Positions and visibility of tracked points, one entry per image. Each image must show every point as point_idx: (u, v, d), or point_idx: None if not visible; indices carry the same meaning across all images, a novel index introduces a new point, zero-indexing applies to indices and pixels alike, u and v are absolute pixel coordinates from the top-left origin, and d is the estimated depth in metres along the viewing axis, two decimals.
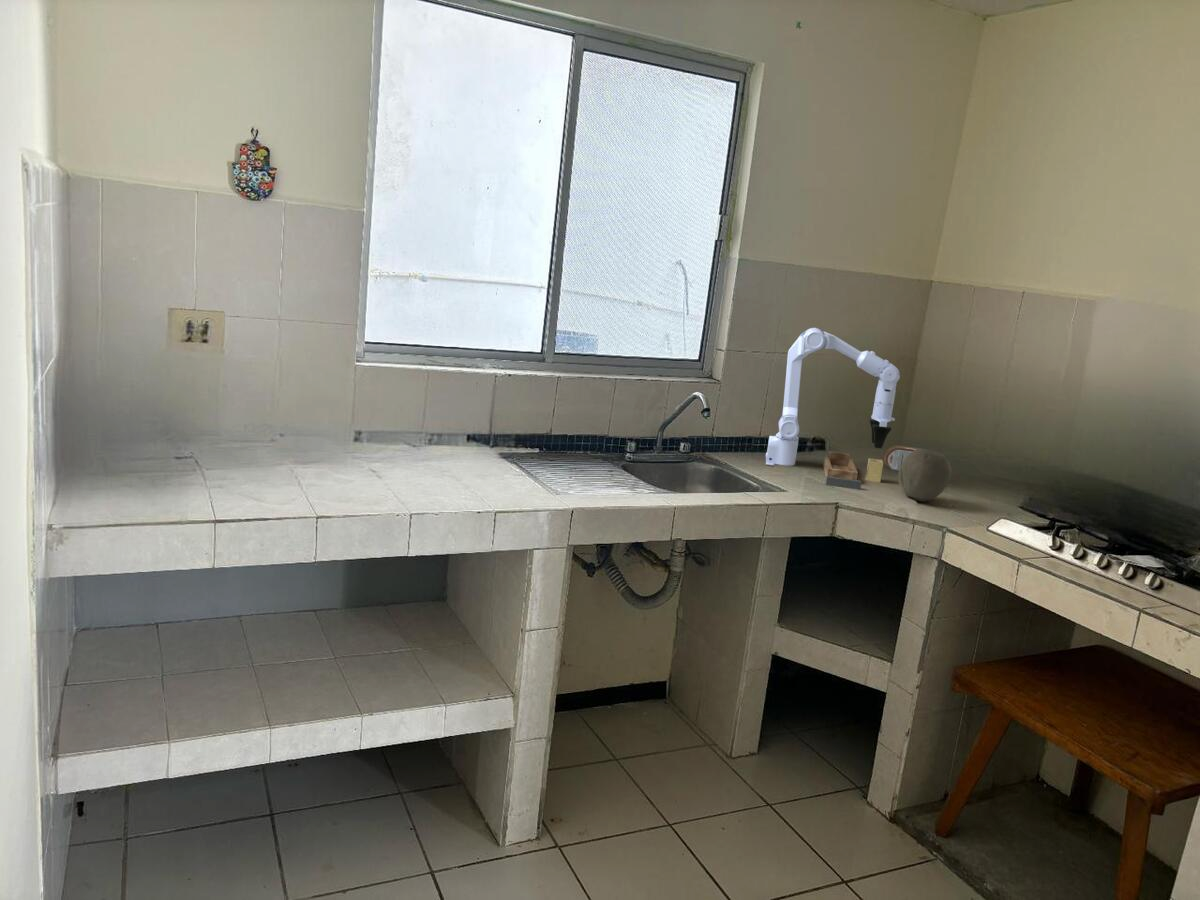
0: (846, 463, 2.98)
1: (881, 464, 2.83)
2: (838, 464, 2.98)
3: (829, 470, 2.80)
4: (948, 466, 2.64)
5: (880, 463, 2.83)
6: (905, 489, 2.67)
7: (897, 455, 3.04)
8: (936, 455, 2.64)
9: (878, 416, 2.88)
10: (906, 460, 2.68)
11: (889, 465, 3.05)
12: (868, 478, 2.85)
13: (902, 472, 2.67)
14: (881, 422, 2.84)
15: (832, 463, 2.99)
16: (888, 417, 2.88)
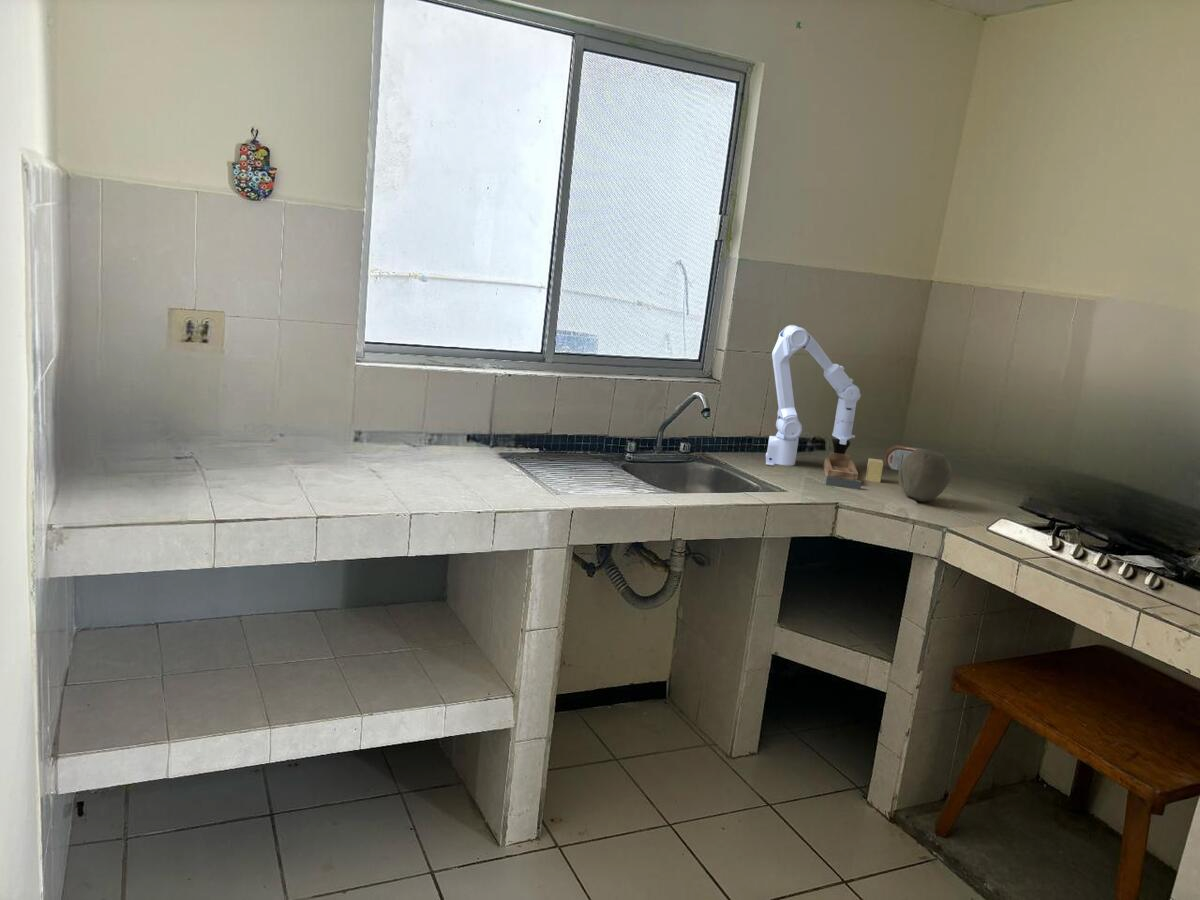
0: (846, 464, 2.96)
1: (881, 464, 2.83)
2: (838, 465, 2.97)
3: (829, 471, 2.79)
4: (948, 466, 2.64)
5: (880, 463, 2.83)
6: (905, 489, 2.67)
7: (897, 455, 3.04)
8: (936, 455, 2.64)
9: (838, 434, 2.95)
10: (906, 460, 2.68)
11: (889, 465, 3.05)
12: (868, 478, 2.85)
13: (903, 472, 2.67)
14: (841, 440, 2.91)
15: (832, 464, 2.97)
16: (848, 434, 2.95)
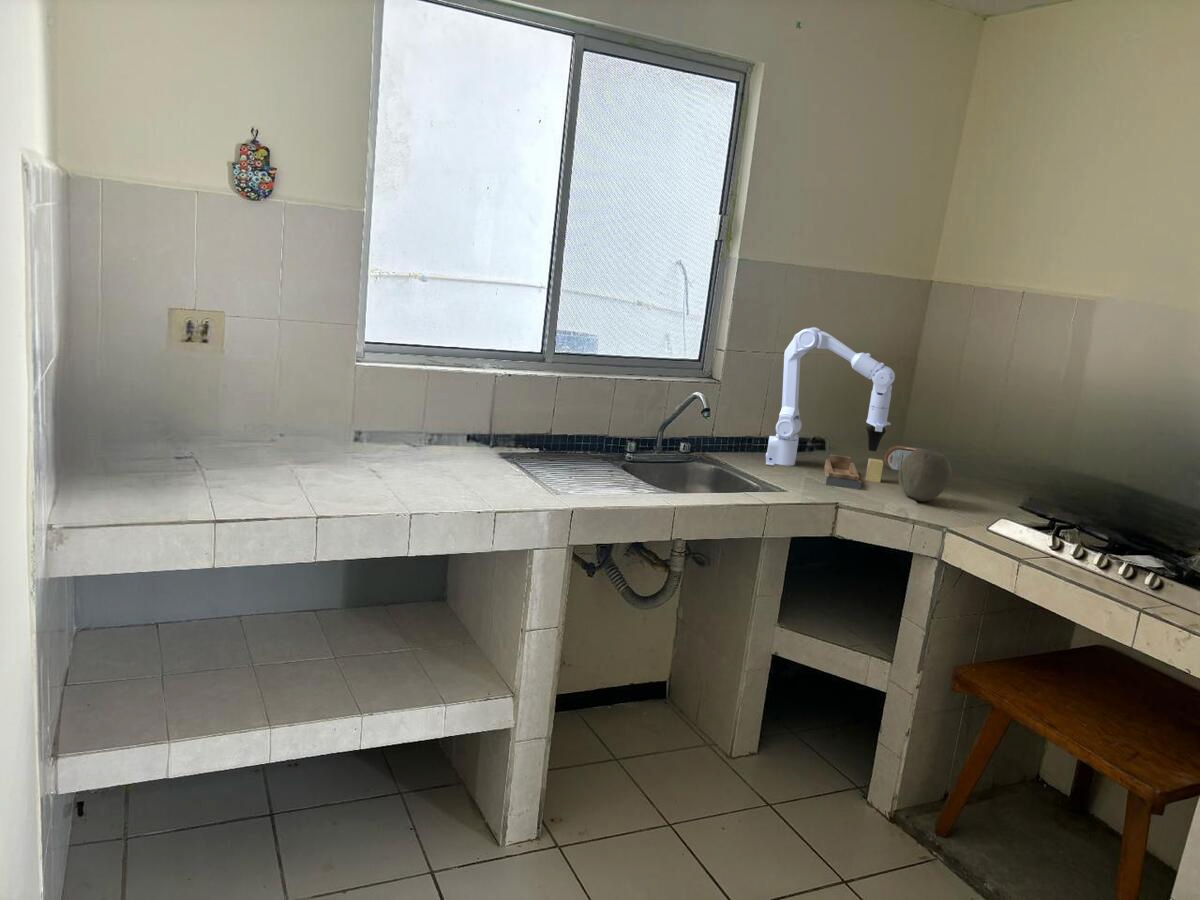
0: (847, 466, 2.93)
1: (881, 464, 2.83)
2: (839, 467, 2.94)
3: (830, 474, 2.76)
4: (948, 466, 2.64)
5: (880, 463, 2.83)
6: (905, 489, 2.67)
7: (897, 455, 3.04)
8: (936, 455, 2.64)
9: (873, 420, 2.82)
10: (906, 460, 2.68)
11: (889, 465, 3.05)
12: (868, 478, 2.85)
13: (903, 472, 2.67)
14: (876, 427, 2.77)
15: (833, 466, 2.94)
16: (883, 421, 2.82)
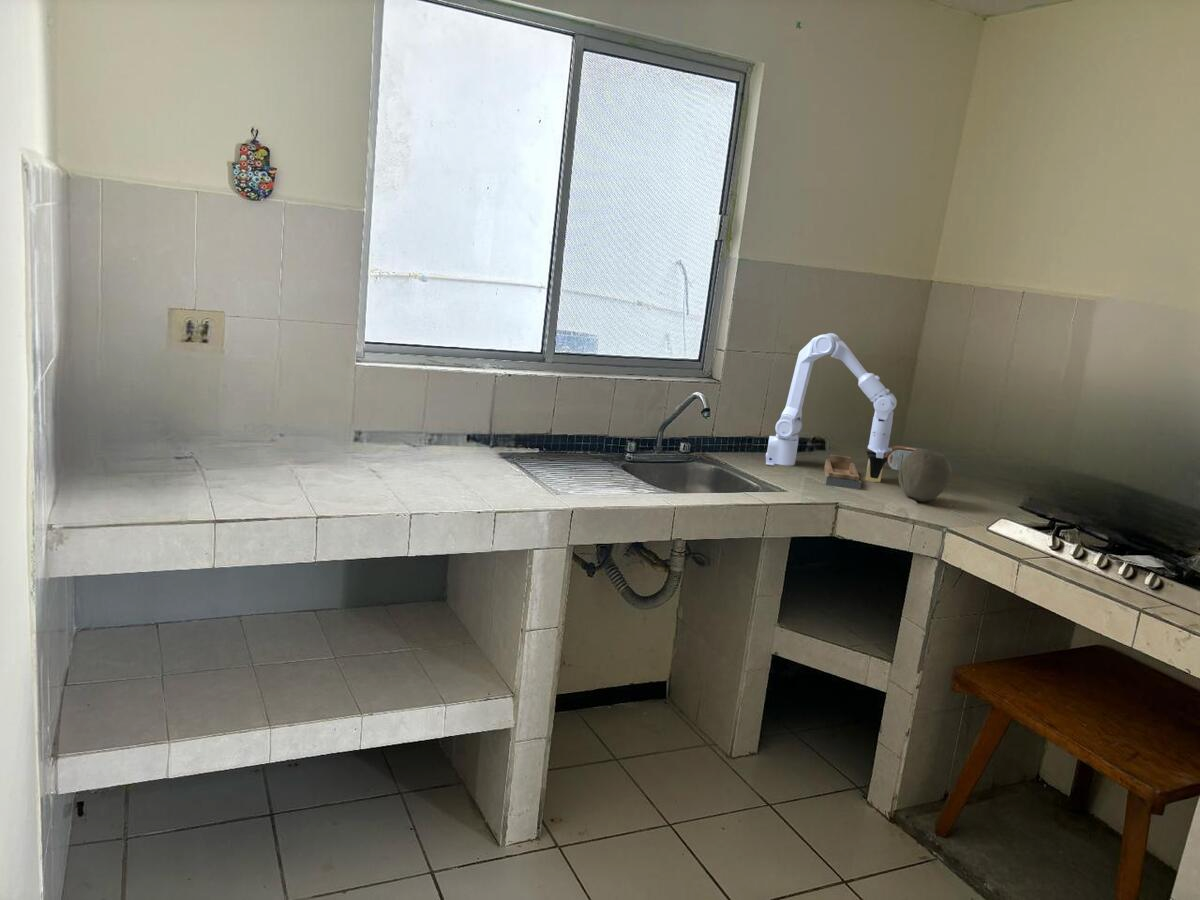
0: (847, 466, 2.93)
1: None
2: (839, 467, 2.94)
3: (830, 474, 2.76)
4: (948, 466, 2.64)
5: None
6: (905, 489, 2.67)
7: (897, 455, 3.04)
8: (936, 455, 2.64)
9: (875, 447, 2.82)
10: (906, 460, 2.68)
11: (889, 465, 3.05)
12: (868, 478, 2.85)
13: (903, 472, 2.67)
14: (878, 453, 2.78)
15: (833, 466, 2.94)
16: (885, 448, 2.82)
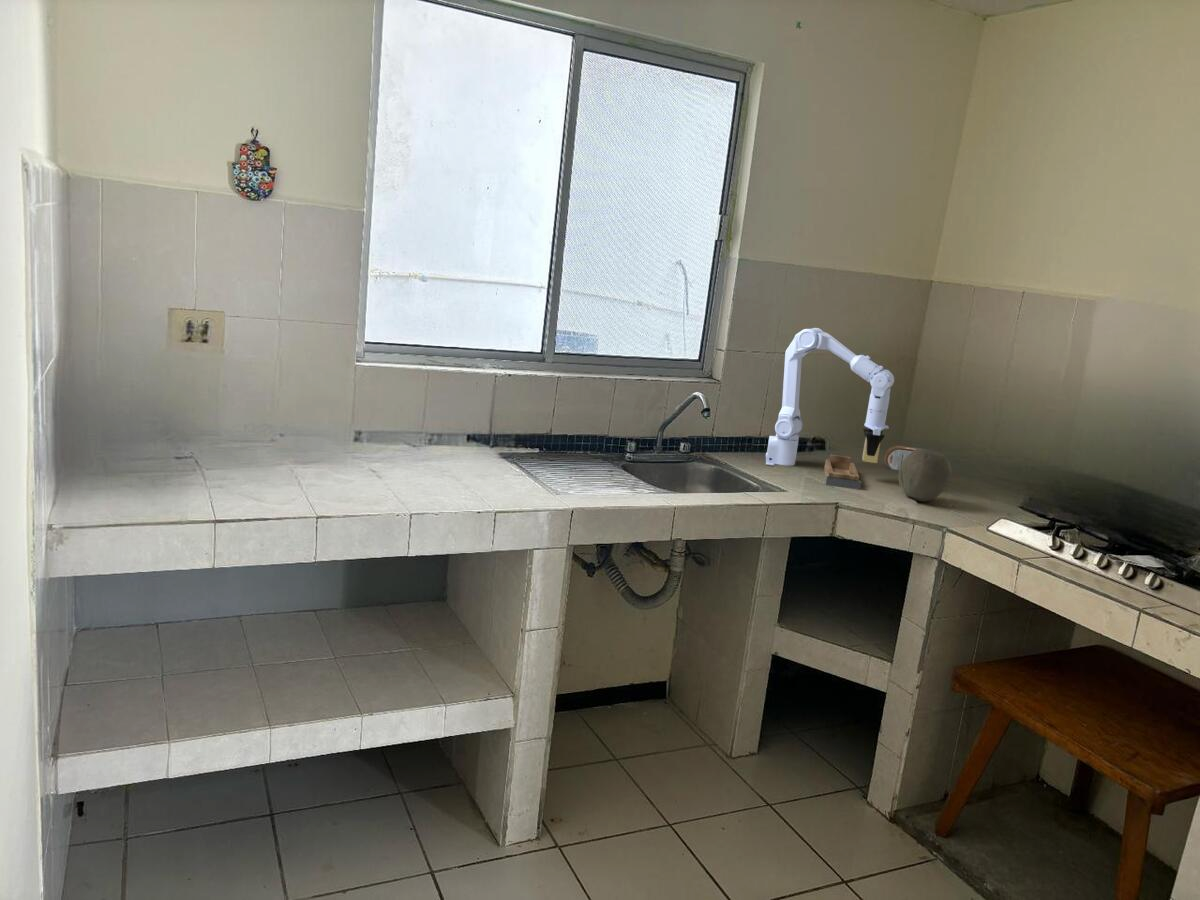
0: (847, 466, 2.93)
1: None
2: (839, 467, 2.94)
3: (830, 474, 2.76)
4: (948, 466, 2.64)
5: None
6: (905, 489, 2.67)
7: (897, 455, 3.04)
8: (936, 455, 2.64)
9: (871, 424, 2.80)
10: (906, 460, 2.68)
11: (889, 465, 3.05)
12: (865, 456, 2.83)
13: (902, 472, 2.67)
14: (874, 430, 2.76)
15: (833, 466, 2.94)
16: (882, 425, 2.80)
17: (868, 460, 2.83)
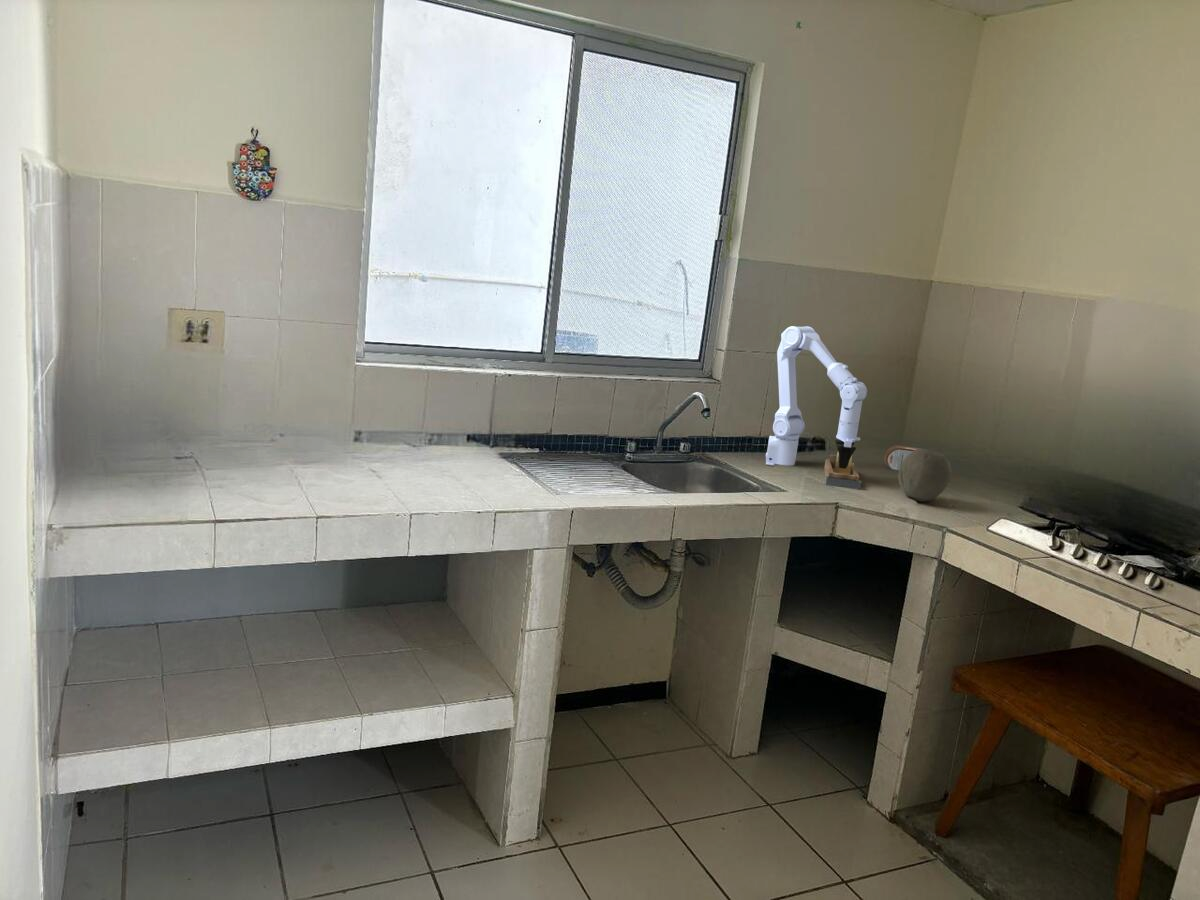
0: None
1: None
2: None
3: (830, 474, 2.76)
4: (948, 466, 2.64)
5: None
6: (905, 489, 2.67)
7: (897, 455, 3.04)
8: (936, 455, 2.64)
9: (843, 436, 2.80)
10: (906, 460, 2.68)
11: (889, 465, 3.05)
12: (837, 471, 2.83)
13: (903, 472, 2.67)
14: (845, 442, 2.76)
15: (833, 466, 2.94)
16: (853, 437, 2.80)
17: None
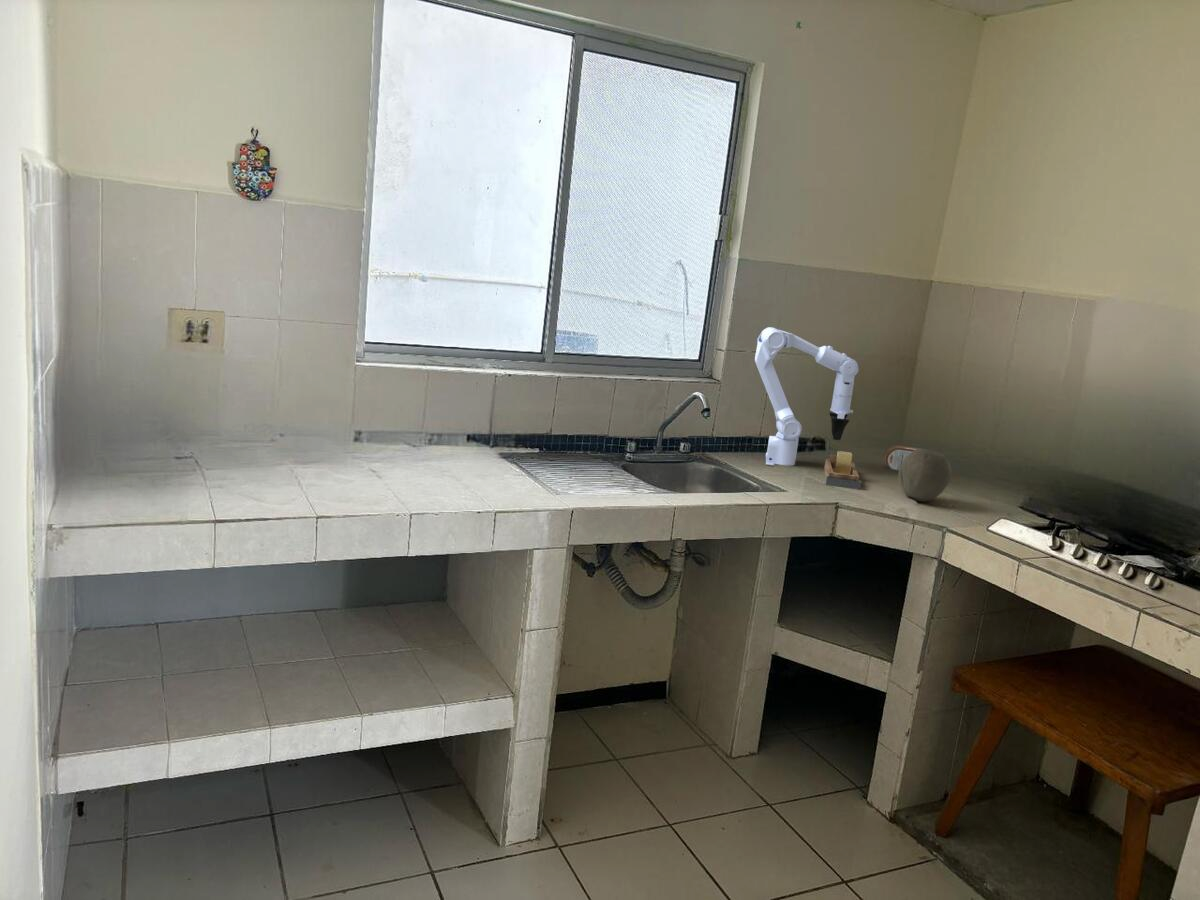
0: None
1: (850, 457, 2.82)
2: None
3: (830, 474, 2.76)
4: (948, 466, 2.64)
5: (849, 456, 2.82)
6: (905, 489, 2.67)
7: (897, 455, 3.04)
8: (936, 455, 2.64)
9: (836, 408, 2.93)
10: (906, 460, 2.68)
11: (889, 465, 3.05)
12: (837, 471, 2.83)
13: (903, 472, 2.67)
14: (839, 414, 2.88)
15: (833, 466, 2.94)
16: (846, 409, 2.93)
17: None
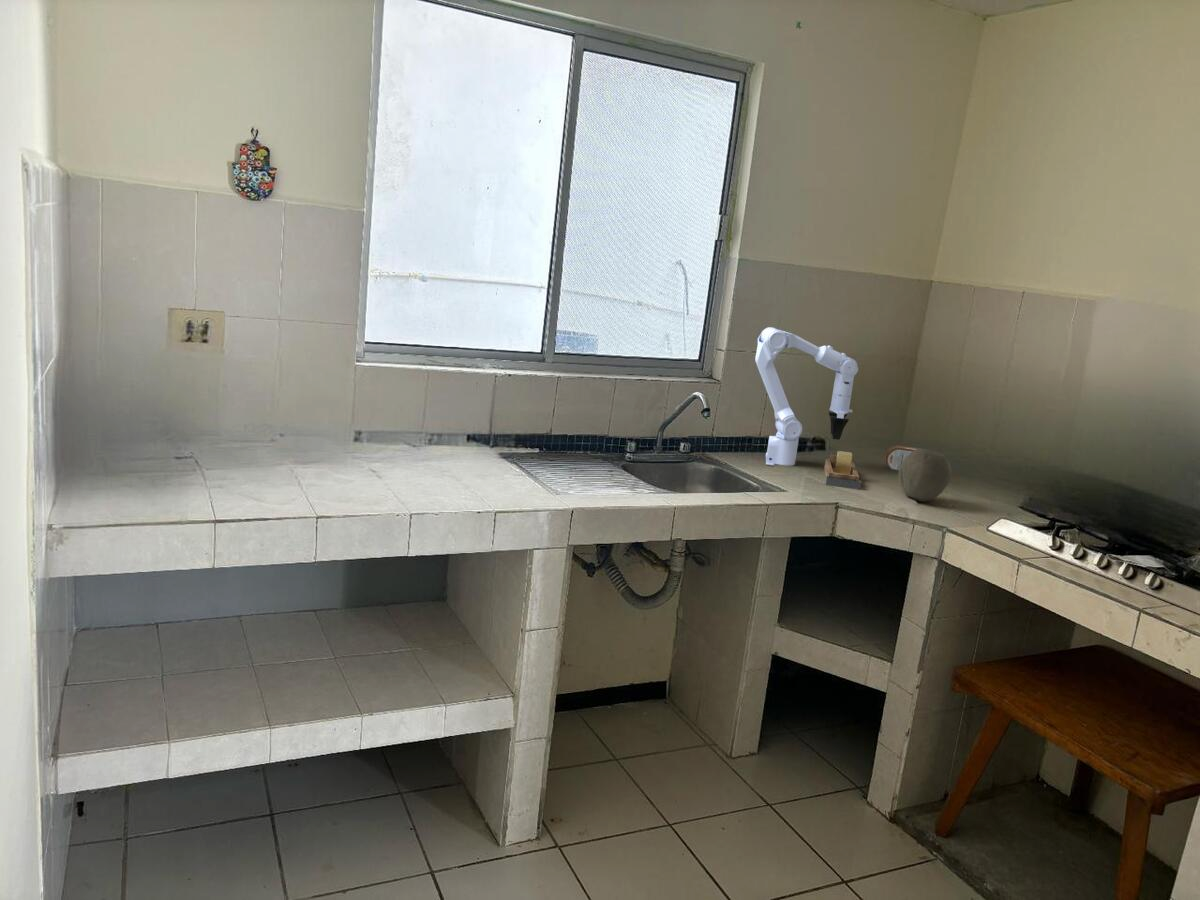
0: None
1: (850, 457, 2.82)
2: None
3: (830, 474, 2.76)
4: (948, 466, 2.64)
5: (849, 456, 2.82)
6: (905, 489, 2.67)
7: (897, 455, 3.04)
8: (936, 455, 2.64)
9: (836, 408, 2.94)
10: (906, 460, 2.68)
11: (889, 465, 3.05)
12: (837, 471, 2.83)
13: (902, 472, 2.67)
14: (838, 414, 2.89)
15: (833, 466, 2.94)
16: (846, 409, 2.94)
17: None
